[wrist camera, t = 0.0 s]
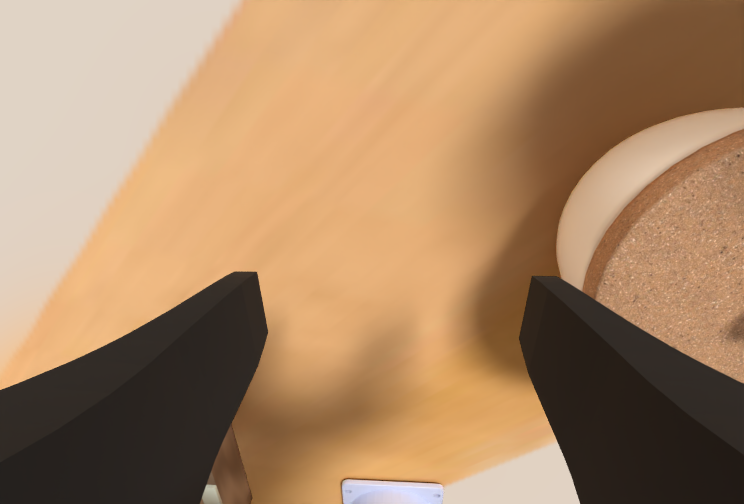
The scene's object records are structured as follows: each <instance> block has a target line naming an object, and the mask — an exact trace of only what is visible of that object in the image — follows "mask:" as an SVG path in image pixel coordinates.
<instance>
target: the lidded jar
mask: <svg viewBox="0 0 744 504" xmlns="http://www.w3.org/2000/svg"><path fill="white" fill-rule="evenodd" d="M556 254H557V263H558V267H559V271H560V276H561V279H562V280H564V281H566V282H568V283H569V284H571V285H573V286H574V287H576V288H577V289H579V290H581V291H582V292H584V293H585V294H587V295H588V296H590V297H591V298H593V299H595V300H596V301H598V302H599V303H601V304H602V305H604V306H605V307H607V308H609V309H610V310H612V311H613V312H615V313H616V314H618V315H620V316H621V317H623V318H624V319H626V320H627V321H629V322H631V323H632V324H634V325H636V326H637V327H639V328H641V329H642V330H644V331H646V332H647V333H649V334H651V335H652V336H654V337H656V338H658V339H659V340H661V341H663V342H665V343H666V344H668V345H670V346H672V347H673V348H675V349H677V350H679V351H680V352H682V353H684V354H686V355H688V356H690V357H692V358H693V359H695V360H697V361H699V362H701V363H703V364H705V365H707V366H709V367H711V368H713V369H715V370H717V371H719V372H721V373H723V374H725V375H727V376H729V377H731V378H733V379H735V380H737V381H739V382H741V383H744V107H740V108H726V109H717V110H709V111H702V112H697V113H693V114H688V115H684V116H679V117H676V118H674V119H671V120H668V121H665V122H662V123H660V124H657V125H654V126H651V127H649V128H646V129H644V130H642V131H640V132H638V133H636V134H634V135H632V136H630V137H628V138H627V139H625V140H624V141H622V142H621V143H619V144H618V145H616V146H615V147H613V148H612V149H610V150H609V151H608V152H607V153H606V154H605V155H603V156H602V157H601V158H600V159H599V160H598V161H596V162H595V163H594V164H593V166H592V167H591V168H590V169H589V170H588V171H587V172H586V173H585V174H584V175H583V176H582V178H581V179H580V181H579V182H578V184H577V185H576V186H575V188H574V189H573V191H572V192H571V194H570V196H569V198H568V200H567V202H566V204H565V206H564V209H563V212H562V215H561V218H560V221H559V226H558V233H557V241H556Z"/></svg>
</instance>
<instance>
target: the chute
mask: <svg viewBox="0 0 744 504" xmlns="http://www.w3.org/2000/svg"><path fill="white" fill-rule="evenodd" d="M251 500H252V496H251V492H250V489H249V485H248V482H247V478H246V475H245V471H244V468H243V464H242V461H241V457H240V453H239V450H238V446H237V443H236V439H235V436H234V432H233V429H232V425H230V427H229V430H228V432H227V434H226V436H225V438H224V440H223V443H222V445H221V447H220V450H219V452H218V455H217V457H216V459H215V462H214V465H213V468H212V471H211V473H210V476H209V479H208V482H207V485H206V488H205V490H204V493H203V496H202V499H201V502H200V504H250V503H251Z"/></svg>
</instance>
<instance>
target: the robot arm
mask: <svg viewBox="0 0 744 504" xmlns="http://www.w3.org/2000/svg"><path fill="white" fill-rule="evenodd" d="M267 334H268V329H267V324H266V318H265V313H264V307H263V302H262V297H261V291H260V286H259V280H258V275H257V272H233V273H231V274H229V275H227V276H225V277H223V278H222V279H220V280H218V281H217V282H215V283H213V284H212V285H210V286H208V287H207V288H205V289H204V290H202V291H200V292H199V293H197V294H195V295H194V296H192V297H191V298H189V299H187V300H186V301H184V302H182V303H181V304H179V305H178V306H176V307H174V308H173V309H171V310H169V311H168V312H166V313H164V314H162V315H160V316H159V317H157V318H155V319H153V320H152V321H150V322H148V323H146V324H145V325H143V326H141V327H139V328H138V329H136V330H134V331H132V332H131V333H129V334H127V335H125V336H123V337H121V338H119V339H117V340H115V341H113V342H111V343H109V344H107V345H105V346H103V347H101V348H99V349H97V350H95V351H93V352H90V353H88V354H86V355H84V356H82V357H80V358H78V359H75V360H73V361H71V362H69V363H66V364H64V365H61V366H59V367H57V368H54V369H52V370H49V371H47V372H44V373H42V374H40V375H37V376H35V377H32V378H30V379H27V380H25V381H23V382H20V383H18V384H15V385H13V386H10V387H7V388H5V389H2V390H0V504H200V502H201V499H202V496H203V493H204V490H205V488H206V485H207V482H208V479H209V476H210V473H211V471H212V468H213V465H214V462H215V459H216V457H217V455H218V452H219V450H220V447H221V445H222V443H223V440H224V438H225V436H226V434H227V432H228V430H229V427H230V425H231V423H232V421H233V419H234V417H235V415H236V412H237V410H238V408H239V406H240V404H241V402H242V400H243V397H244V395H245V393H246V391H247V389H248V387H249V384H250V382H251V380H252V378H253V376H254V373H255V371H256V369H257V367H258V364H259V361H260V358H261V355H262V352H263V348H264V345H265V341H266V338H267ZM519 340H520V344H521V348H522V352H523V356H524V360H525V363H526V366H527V370H528V373H529V376H530V378H531V381H532V383H533V386H534V388H535V390H536V393H537V395H538V397H539V400H540V402H541V404H542V407H543V409H544V411H545V414H546V416H547V418H548V421H549V423H550V425H551V428H552V430H553V432H554V435H555V437H556V439H557V442H558V444H559V446H560V449H561V451H562V453H563V455H564V458H565V460H566V463H567V466H568V468H569V471H570V473H571V476H572V479H573V482H574V486H575V489H576V492H577V495H578V498H579V501H580V504H744V383H741V382H739V381H737V380H735V379H733V378H731V377H729V376H727V375H725V374H723V373H721V372H719V371H717V370H715V369H713V368H711V367H709V366H707V365H705V364H703V363H701V362H699V361H697V360H695V359H693V358H692V357H690V356H688V355H686V354H684V353H682V352H680V351H679V350H677V349H675V348H673V347H672V346H670V345H668V344H666V343H665V342H663V341H661V340H659V339H658V338H656V337H654V336H652V335H651V334H649V333H647V332H646V331H644V330H642V329H641V328H639V327H637V326H636V325H634V324H632V323H631V322H629V321H627V320H626V319H624V318H623V317H621V316H620V315H618V314H616V313H615V312H613V311H612V310H610V309H609V308H607V307H605V306H604V305H602V304H601V303H599V302H598V301H596V300H595V299H593V298H591V297H590V296H588V295H587V294H585V293H584V292H582V291H581V290H579V289H577V288H576V287H574V286H573V285H571V284H569V283H568V282H566V281H564V280H562V279H561V278H559V277H557V276H532V278H531V283H530V288H529V293H528V298H527V302H526V307H525V312H524V317H523V322H522V327H521V332H520V336H519ZM342 495H343V504H442V501H443V486H442V485H440V484H436V483H415V482H394V481H373V480H352V479H346V480H344V481H343V482H342Z"/></svg>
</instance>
